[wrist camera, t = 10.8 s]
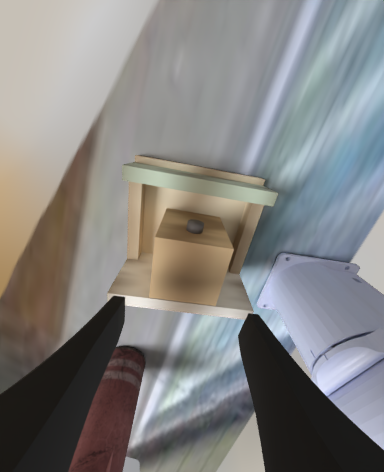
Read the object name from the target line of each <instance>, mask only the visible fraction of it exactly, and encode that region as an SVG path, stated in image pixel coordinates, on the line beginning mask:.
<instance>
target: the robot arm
mask: <svg viewBox="0 0 384 472" xmlns="http://www.w3.org/2000/svg"><path fill="white" fill-rule="evenodd" d="M287 257H289V258H288V259H286V258H287ZM359 269H360V267H359V266H358V265H357V264H352V263H346V262H339V261H333V260H326V259H320V258H313V257H307V256H300V255H294V254H287V253H281V254H279V255H278V257H277V259H276V261H275V264H274V266H273V268H272V270H271V272H270V275H269V277H268V279H267V281H266V284H265V286H264V288H263V290H262V292H261V295H260V297H259V299H258V301H257V306H258V307H259V308H264V309H272V310H277V312H278V314H279V315H280V317H281V319H282V321H283V323H284V325H285V327H286V329H287V330H288V332H289V334H290V336H291V338H292V340H293V342H294V343H295V345H296V347H297V349H298V351H299V353H300V355H301V356H302V358H303V360H304V362H305V364H306V365H307V368H308V370H309V371H310V373H311V375H312V378H311V379H310V378H309V377H308V376H307V375H306V373H304V371H303V370H302V369H301V368H300V367H299V365H298V364H297V363H296V362H295V361H294V359H293V358H292V357H291V356H290V355H289V353H288V352H287V351H286V350H285V348H284V347H283V346H282V345H281V343H280V342H279V341H278V340H277V338H276V337H275V336H274V334H273V333H272V332H271V330H270V329H269V328H268V327H267V325H266V324H265V323H264V321H263V320H262V319H261V317H260V316H259V315H258V314H250V313H248V315H247V317H246V320H245V322H244V324H243V326H242V328H241V331H240V333H239V335H238V338H239V346H240V352H241V357H242V361H243V365H244V369H245V373H246V377H247V381H248V385H249V388H250V392H251V396H252V400H253V404H254V409H255V413H256V418H257V424H258V429H259V435H260V441H261V447H262V453H263V459H264V466H265V472H384V295H383V294H382V293H381V292H379V291H378V290H376V289H375V288H374V287H373V286H371V285H370V284H368V283H367V282H366V281H364V280H363V279H362V278H360V277H359V276H358V275H357V272H358V271H359ZM124 319H125V297H122V296H115V295H114V296H112V297H111V299H110V300H109V301H108V302H107V303H106V304H105V305H104V306H103V307H102V308H101V309H100V311H99V312H98V313H97V314H96V315H95V316H94V317H93V318H92V319H91V320H90V321H89V322H88V323H87V324H86V325H85V326H84V327H83V328H81V329H80V330H79V331H78V332H77V333H76V334H75V335H74V336H73V337H72V338H71V339H69V340H68V341H67V342H66V343H65V344H64V345H63V346H62V347H60V348H59V349H58V350H57V351H56V352H55V353H53V354H52V355H51V356H50V357H49V358H47V359H46V360H45V361H44V362H42V363H41V364H40V365H39V366H37V367H36V368H35V369H34V370H32V371H31V372H30V373H28V374H27V375H26V376H24V377H23V378H22V379H20V380H19V381H18V382H17V383H15V384H14V385H12V386H11V387H10V388H8V389H7V390H6V391H4V392H3V393H1V394H0V472H68V471H69V468H70V465H71V462H72V459H73V456H74V453H75V450H76V447H77V444H78V441H79V438H80V436H81V433H82V430H83V427H84V424H85V421H86V418H87V415H88V413H89V410H90V407H91V404H92V401H93V399H94V396H95V394H96V391H97V389H98V386H99V384H100V382H101V380H102V377H103V375H104V373H105V370H106V368H107V366H108V364H109V361H110V359H111V357H112V354H113V352H114V350H115V347H116V345H117V343H118V340H119V337H120V334H121V331H122V328H123V325H124Z"/></svg>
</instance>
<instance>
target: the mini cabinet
mask: <svg viewBox="0 0 384 472" xmlns="http://www.w3.org/2000/svg"><path fill="white" fill-rule="evenodd" d="M233 251H234V248H233V246H232V244H231V241H230V239H229V237H228V234H227V232H226V230H225V228H224V225H223V223H222V221H221V218H220V217H216V216H210V215H205V214H199V213H193V212H187V211H181V210H175V209H169V208H167V209H166V211H165V214H164V216H163V219H162V221H161V223H160V226H159V228H158V231H157V233H156V236H155V242H154V252H153V262H152V272H151V282H150V292H149V298H156V299H164V300H172V301H180V302H188V303H196V304H204V305H212V306H216V303H217V300H218V297H219V294H220V291H221V288H222V285H223V282H224V278H225V275H226V272H227V269H228V266H229V263H230V260H231V257H232V254H233Z"/></svg>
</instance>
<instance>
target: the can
mask: <svg viewBox="0 0 384 472" xmlns="http://www.w3.org/2000/svg"><path fill="white" fill-rule="evenodd" d="M144 367H145V359H144V356H143V354H142V353H141V352H140V351H138V350H137V349H134V348H132V347H127V346H121V347H116V348H115V350H114V352H113V354H112V357H111V359H110V361H109V364H108V366H107V368H106V370H105V373H104V375H103V377H102V380H101V382H100V384H99V386H98V389H97V391H96V394H95V396H94V399H93V401H92V404H91V407H90V410H89V413H88V415H87V418H86V421H85V424H84V427H83V430H82V433H81V436H80V438H79V441H78V444H77V447H76V450H75V453H74V456H73V459H72V462H71V465H70V468H69V471H68V472H122V471H123V467H124V462H125V457H126V453H127V448H128V443H129V438H130V434H131V429H132V424H133V419H134V415H135V410H136V405H137V401H138V396H139V391H140V386H141V382H142V377H143V372H144Z"/></svg>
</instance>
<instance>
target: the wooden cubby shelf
mask: <svg viewBox="0 0 384 472" xmlns="http://www.w3.org/2000/svg"><path fill="white" fill-rule="evenodd" d="M122 180H124V181H129V200H128V246H127V260H126V262H125V263H124V265H123V267H122V269H121V270H120V272H119V274H118V276H117V277H116V279H115V281H114V282H113V284H112V286H111V288H110V289H109V291H108V293H107V300H108V301H109V300H110V299H111V297H112V296H114V295H115V296H122V297H125V305H126V306H134V307H143V308H151V309H160V310H168V311H176V312H185V313H193V314H202V315H210V316H218V317H227V318H235V319H244V320H246V317H247V315H248V313H250V314H253V312H254V311H253V308H252V306H251V303H250V301H249V298H248V295H247V293H246V290H245V288H244V285H243V283H242V280H241V278H240V275H239V274H240V271H241V268H242V266H243V263H244V260H245V257H246V255H247V252H248V249H249V246H250V243H251V241H252V238H253V235H254V232H255V230H256V227H257V224H258V221H259V218H260V216H261V213H262V210H263V207H264V205H266V206H272V207H273V206H274V204H275V201H276V198H277V196H278V193H277V192H275V191H273V190H271V189H269V188H267V187H265V186H263V185H264V182H265V180H264V179H262V178H258V177H252V176H247V175H242V174H236V173H231V172H226V171H220V170H215V169H210V168H204V167H199V166H194V165H188V164H183V163H178V162H172V161H167V160H162V159H156V158H151V157H146V156H140V155H135V162H133V163H129V164H124V165H122ZM167 208H169V209H175V210H181V211H187V212H193V213H199V214H205V215H210V216H216V217H220V218H221V221H222V223H223V225H224V228H225V230H226V232H227V234H228V237H229V239H230V241H231V244H232V246H233V248H234V251H233V254H232V257H231V260H230V263H229V266H228V269H227V272H226V275H225V278H224V282H223V285H222V288H221V291H220V294H219V297H218V300H217V303H216V306H212V305H204V304H196V303H188V302H180V301H172V300H164V299H156V298H149V292H150V282H151V272H152V262H153V252H154V242H155V236H156V233H157V231H158V228H159V226H160V223H161V221H162V219H163V216H164V214H165V211H166V209H167Z"/></svg>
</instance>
